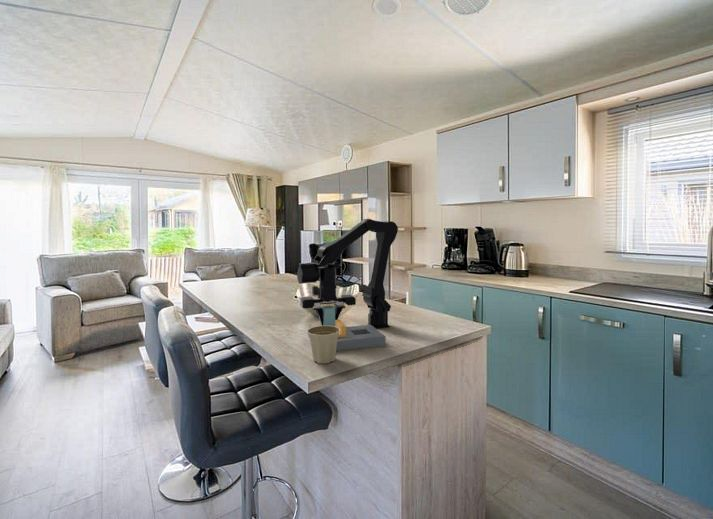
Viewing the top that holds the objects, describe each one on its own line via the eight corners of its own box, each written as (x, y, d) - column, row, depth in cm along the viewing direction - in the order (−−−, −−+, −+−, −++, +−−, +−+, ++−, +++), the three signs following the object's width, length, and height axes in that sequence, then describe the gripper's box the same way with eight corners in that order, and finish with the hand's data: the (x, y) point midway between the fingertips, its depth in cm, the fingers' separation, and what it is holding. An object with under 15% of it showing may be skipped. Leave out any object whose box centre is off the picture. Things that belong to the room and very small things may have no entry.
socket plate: (370, 333, 128) (370, 324, 128) (385, 345, 114) (385, 336, 114) (314, 338, 122) (314, 329, 122) (323, 352, 109) (322, 342, 108)
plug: (332, 330, 131) (332, 305, 130) (335, 333, 127) (335, 308, 126) (321, 331, 130) (321, 306, 129) (324, 334, 126) (323, 309, 125)
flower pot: (312, 368, 96) (312, 336, 96) (303, 356, 105) (302, 327, 104) (345, 362, 100) (345, 332, 99) (333, 352, 109) (333, 323, 108)
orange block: (339, 329, 121) (339, 319, 121) (346, 336, 114) (346, 325, 113) (315, 332, 119) (315, 321, 118) (320, 339, 111) (320, 328, 111)
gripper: (347, 277, 137) (347, 317, 139) (297, 279, 132) (298, 321, 133) (355, 281, 127) (356, 325, 128) (302, 284, 121) (303, 330, 123)
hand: (328, 325), depth 128 cm, fingers closed on plug, 4 cm apart
